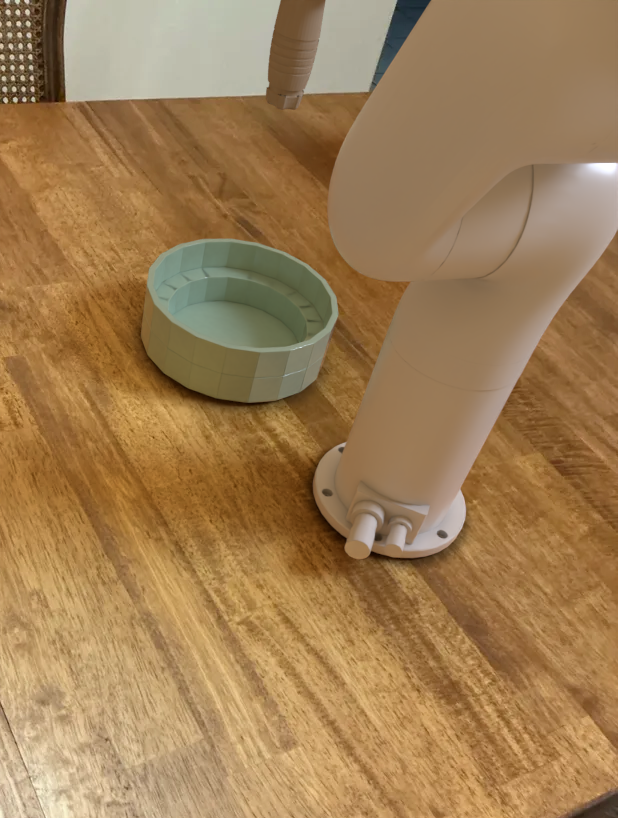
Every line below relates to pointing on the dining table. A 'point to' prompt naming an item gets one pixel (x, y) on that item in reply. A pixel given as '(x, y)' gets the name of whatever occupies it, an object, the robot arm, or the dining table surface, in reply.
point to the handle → (293, 51)
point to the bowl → (237, 319)
